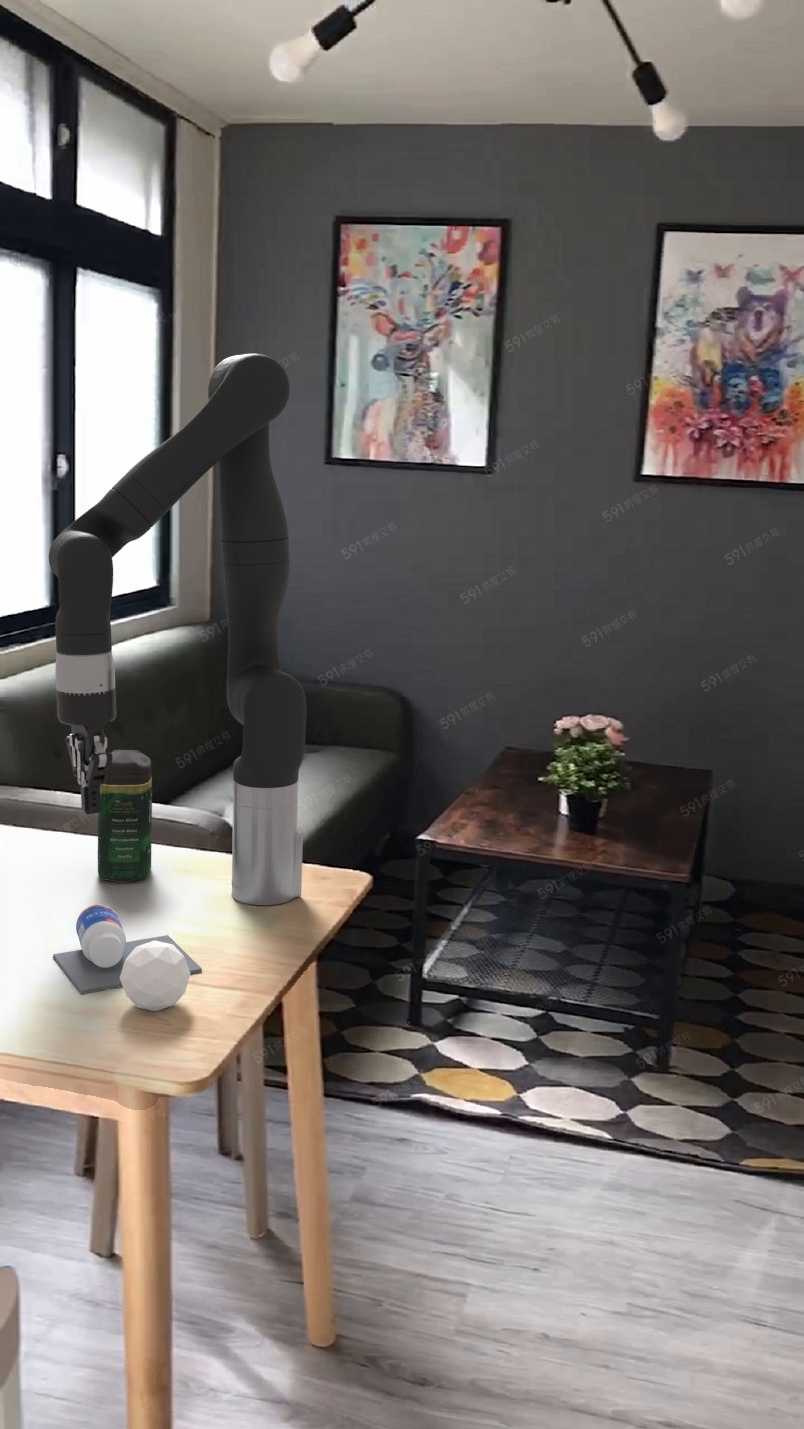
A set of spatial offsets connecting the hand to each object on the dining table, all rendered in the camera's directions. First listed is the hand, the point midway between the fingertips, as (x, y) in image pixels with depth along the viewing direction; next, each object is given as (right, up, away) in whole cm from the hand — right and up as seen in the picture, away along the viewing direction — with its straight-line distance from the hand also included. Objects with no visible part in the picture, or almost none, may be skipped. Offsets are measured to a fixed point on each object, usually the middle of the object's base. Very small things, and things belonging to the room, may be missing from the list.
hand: (91, 811), depth 168 cm
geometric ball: (+13, -21, -24) cm, 34 cm away
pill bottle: (+3, -14, -8) cm, 16 cm away
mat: (+7, -18, -12) cm, 23 cm away
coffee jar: (0, -11, +20) cm, 23 cm away
